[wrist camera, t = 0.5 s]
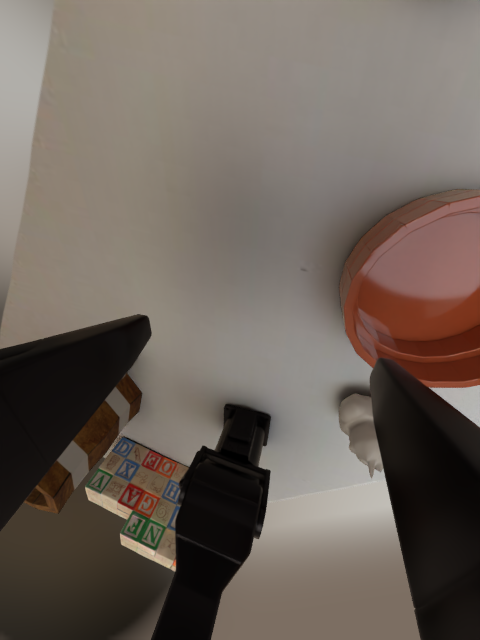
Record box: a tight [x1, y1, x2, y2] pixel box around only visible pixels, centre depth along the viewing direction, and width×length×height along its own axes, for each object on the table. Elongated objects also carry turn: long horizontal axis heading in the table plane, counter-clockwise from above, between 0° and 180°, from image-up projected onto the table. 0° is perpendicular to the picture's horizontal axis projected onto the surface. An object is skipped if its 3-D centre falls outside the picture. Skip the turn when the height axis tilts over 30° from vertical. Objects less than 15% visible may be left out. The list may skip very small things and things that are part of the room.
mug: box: [24, 373, 142, 514], centre depth 31 cm, size 20×14×15 cm
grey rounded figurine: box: [339, 394, 383, 479], centre depth 22 cm, size 5×7×8 cm
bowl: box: [339, 189, 480, 388], centre depth 16 cm, size 13×13×5 cm
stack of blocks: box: [85, 437, 188, 571], centre depth 42 cm, size 21×6×12 cm, turn 73°
